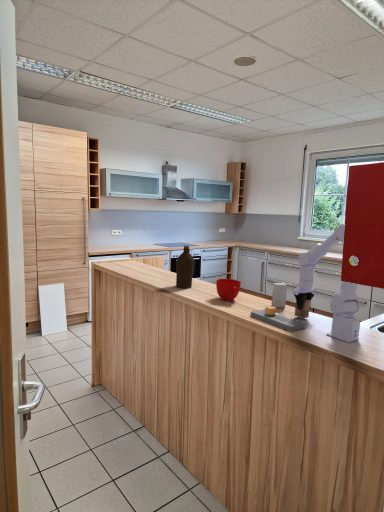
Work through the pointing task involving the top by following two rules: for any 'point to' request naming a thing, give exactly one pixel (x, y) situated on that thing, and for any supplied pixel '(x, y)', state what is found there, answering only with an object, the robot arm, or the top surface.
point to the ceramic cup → (228, 288)
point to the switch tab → (270, 310)
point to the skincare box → (279, 295)
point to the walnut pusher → (303, 310)
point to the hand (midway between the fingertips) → (302, 308)
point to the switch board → (279, 320)
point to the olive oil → (184, 269)
